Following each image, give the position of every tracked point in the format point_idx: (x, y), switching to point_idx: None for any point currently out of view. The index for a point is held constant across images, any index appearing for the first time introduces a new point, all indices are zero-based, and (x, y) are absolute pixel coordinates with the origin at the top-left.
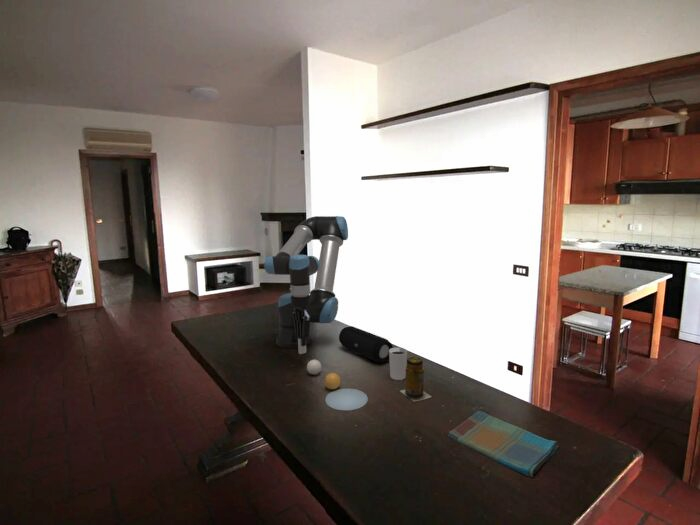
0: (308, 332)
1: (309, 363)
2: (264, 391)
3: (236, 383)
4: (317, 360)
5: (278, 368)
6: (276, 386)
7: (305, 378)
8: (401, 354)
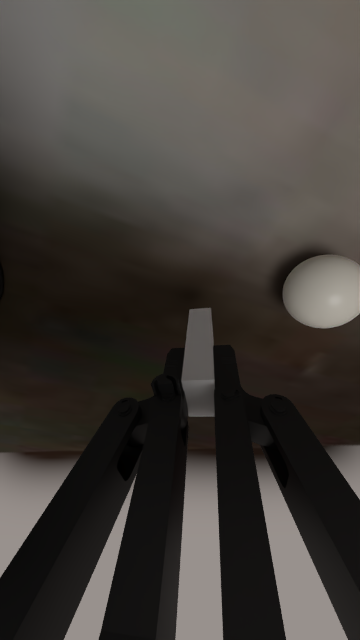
0: (323, 455)
1: (329, 327)
2: None
3: None
4: (344, 287)
5: None
6: (296, 394)
7: None
8: None
